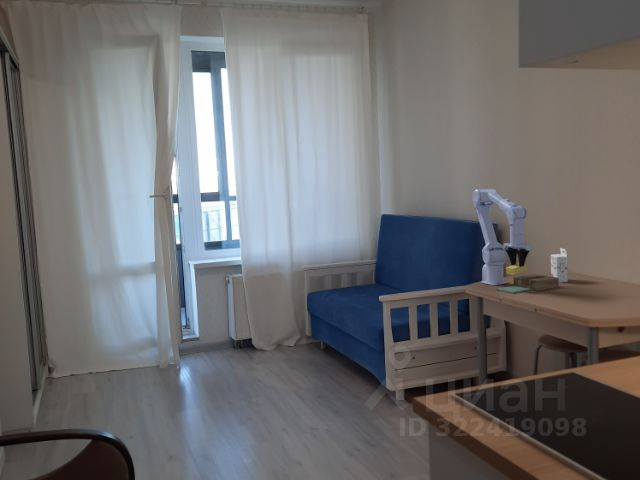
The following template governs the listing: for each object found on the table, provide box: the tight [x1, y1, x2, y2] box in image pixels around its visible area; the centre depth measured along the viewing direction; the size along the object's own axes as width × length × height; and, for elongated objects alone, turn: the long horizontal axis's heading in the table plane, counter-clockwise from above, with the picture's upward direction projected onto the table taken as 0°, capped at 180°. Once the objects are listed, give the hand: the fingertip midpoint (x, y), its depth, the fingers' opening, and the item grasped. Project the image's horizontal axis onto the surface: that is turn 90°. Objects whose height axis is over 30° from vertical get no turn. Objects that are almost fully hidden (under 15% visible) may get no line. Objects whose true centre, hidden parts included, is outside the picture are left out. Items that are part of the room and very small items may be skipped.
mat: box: [496, 285, 532, 294], centre depth 268 cm, size 10×10×1 cm
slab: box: [505, 262, 529, 276], centre depth 268 cm, size 4×8×3 cm, turn 117°
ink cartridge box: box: [550, 247, 569, 283], centre depth 282 cm, size 9×5×15 cm, turn 179°
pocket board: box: [513, 273, 560, 291], centre depth 273 cm, size 14×12×4 cm
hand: (517, 265), depth 268 cm, fingers closed on slab, 4 cm apart
